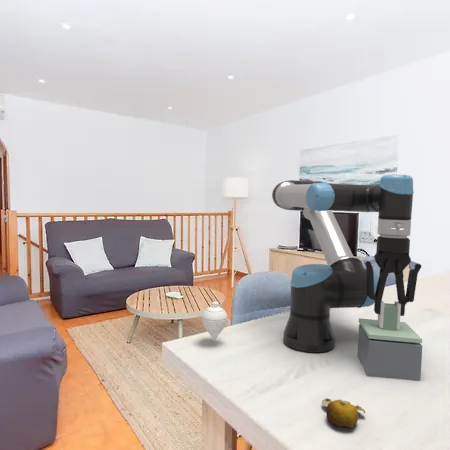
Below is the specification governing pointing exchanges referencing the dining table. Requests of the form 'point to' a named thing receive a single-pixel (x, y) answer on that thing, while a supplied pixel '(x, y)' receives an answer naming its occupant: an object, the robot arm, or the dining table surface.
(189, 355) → the dining table surface
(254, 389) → the dining table surface
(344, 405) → the fruit
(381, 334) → the lid
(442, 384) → the dining table surface
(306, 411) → the dining table surface
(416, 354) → the storage box
